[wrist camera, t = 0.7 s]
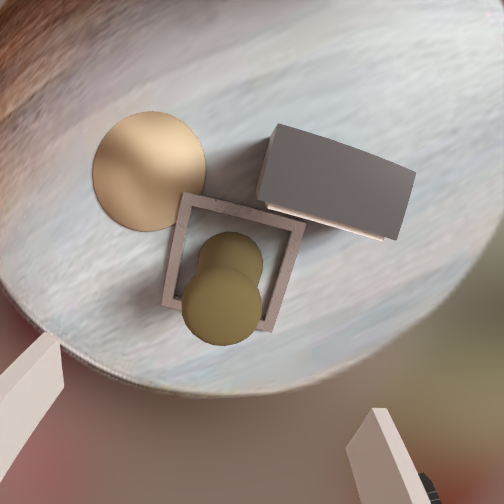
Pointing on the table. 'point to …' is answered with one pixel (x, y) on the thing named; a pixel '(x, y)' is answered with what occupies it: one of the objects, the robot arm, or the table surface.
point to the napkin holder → (333, 184)
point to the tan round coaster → (148, 170)
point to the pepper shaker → (224, 290)
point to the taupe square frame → (245, 213)
